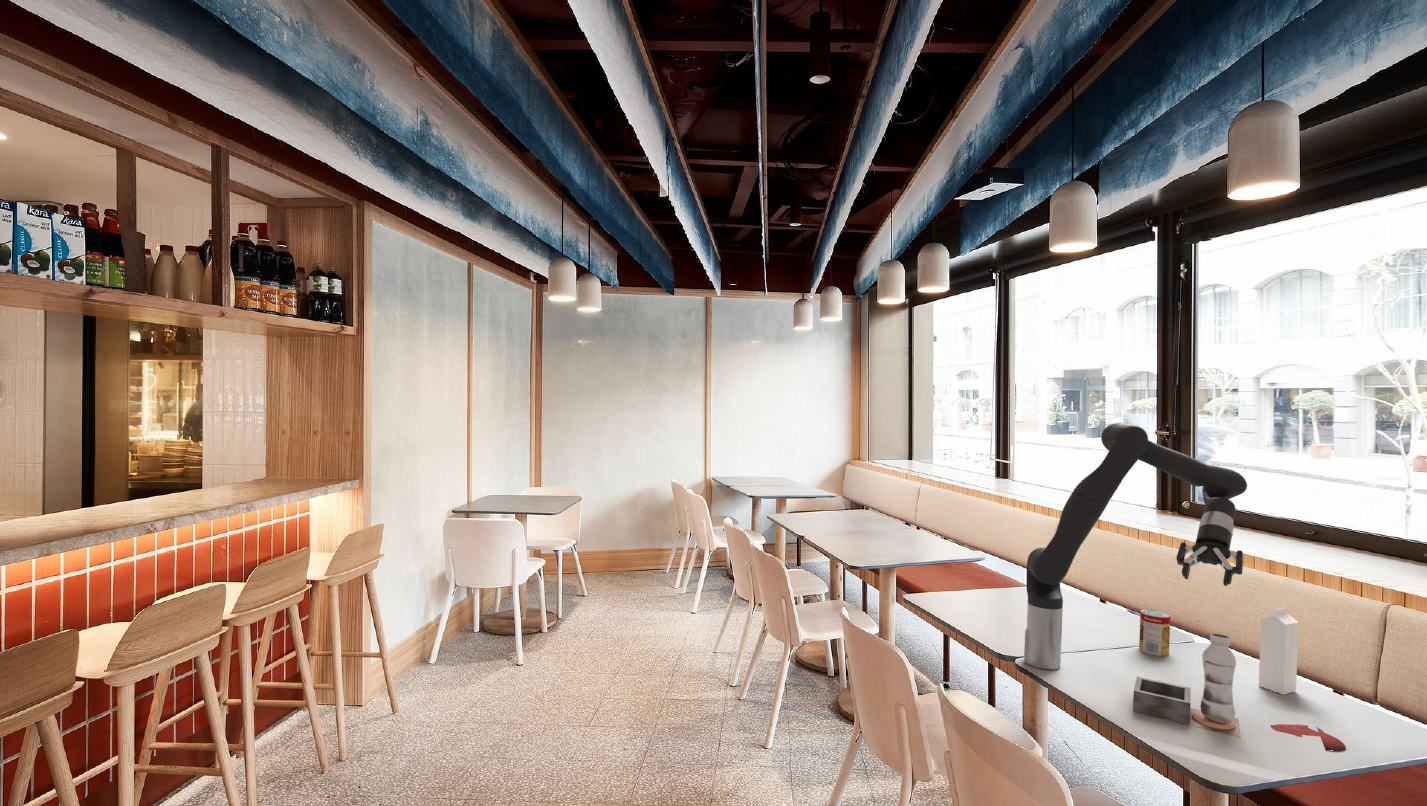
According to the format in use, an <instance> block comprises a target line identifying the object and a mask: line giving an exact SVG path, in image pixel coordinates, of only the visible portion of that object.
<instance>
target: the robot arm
mask: <svg viewBox="0 0 1427 806" xmlns="http://www.w3.org/2000/svg"><path fill="white" fill-rule="evenodd" d="M1100 438H1101V439H1100V440H1101V443H1102V445H1103V447H1104V448H1105V449H1106V450H1107V451H1108V452H1107V454H1106V456H1104V459H1103V460H1102V462H1101V463H1100V464H1099V465H1098V466H1097V467H1096V468H1095V469H1094V470H1093V471H1092V472H1091V473H1090V474H1088V475H1086V476H1085V477H1084V478H1083V479H1082V480H1080V482H1079V483H1078V484H1077V485H1076V486H1075V488H1074V489H1073V491H1072V492H1071V493H1070V495H1069V497H1068V499H1067V500H1066V501H1065V504H1064V507H1063V508H1062V511H1061V513H1060V514H1061V515H1060V517H1059V518H1060V519H1059V522H1058V525H1057V528H1056V531H1055V533H1054V535H1053V537H1052V538H1051V540H1050V541H1049V542H1048V544H1047V545H1046V547H1037V548H1034V549H1033V550H1032V551H1031V552H1030V553H1029V554H1028V557H1027V561H1026V580H1025V581H1026V585H1025V586H1026V594H1027V610H1026V612H1027V613H1026V614H1027V615H1026V628H1025V630H1024V650H1023V653H1024V654H1023V663H1024V664H1028V665H1030V666H1032V667H1035V668H1038V669H1042V670H1043V669H1044V670H1058V669H1060V668H1061V662H1062V658H1061V657H1062V639H1063V638H1062V635H1063V634H1062V633H1063V632H1062V631H1063V612H1064V609H1063V608H1064V607H1063V606H1064V605H1063V604H1064V599H1063V598H1064V597H1063V595H1062V591H1061V582H1062V581H1063V580H1064V579H1065V577H1066V576H1067V574H1068V572H1069V570H1070V568H1071V566H1072V564H1073V562H1074V559H1075V557H1076V555H1077V553H1078V551H1079V549H1080V548H1081V546H1082V545H1083V543H1084V542H1085V540H1086V538H1087V537H1088V535H1089V534H1090V532H1091V531H1092V529H1093V528H1094V526H1095V525H1096V523H1097V522H1098V520H1099V519H1100V517H1101V516H1102V514H1103V512H1104V511H1105V509H1106V508H1107V506H1108V504H1109V503H1110V501H1111V499H1112V497H1113V496H1114V494H1115V493H1116V491H1117V490H1118V488H1119V486H1120V485H1121V483H1122V482H1123V480H1124V479H1125V477H1126V475H1127V474H1128V473H1129V472H1130V471H1131V469H1132V468H1133V466H1135V464H1136V463H1137V462H1138V461H1141V462H1143V463H1146V464H1147V465H1149V466H1152V467H1154V468H1155V469H1158V470H1159V471H1162V472H1164V473H1166V474H1167V475H1170V476H1172V477H1174V478H1175V479H1178V480H1179V481H1182V482H1185V483H1186V484H1188V485H1190V486H1194V487H1202V488H1201V490H1202V492H1201V493H1202V497H1203V503H1204V508H1203V513H1202V517H1201V519H1200V521H1199V525H1198V530H1197V533H1196V534H1197V535H1196V538H1195V539H1196V540H1195V543H1194V544H1193V545H1188V544H1187V543H1186V542H1181V543H1180V545H1179V548H1178V551H1177V555H1176V558H1175V559H1176V563H1177V565H1178V566H1182V569H1181V575H1182V577H1183V578H1184V580H1189V577H1190V572H1191V568H1192V567H1193V566H1194V565H1195V566H1197V565H1199V564H1200V563H1202V564H1204V565H1205V564H1208V565H1209V564H1210V565H1213V566H1217V565H1219V566H1220V567H1221V568H1222V569H1223V570H1224V574H1223V575H1224V576H1223V581H1222V584H1223V586H1224V587H1228V585H1231V584H1232V581H1233V580H1232V579H1233V575H1243V568H1244V567H1243V566H1244V553H1243V550H1240V549H1239V550H1237V551H1231V550H1230V549H1231V543H1232V539H1233V538H1232V537H1233V535H1234V520H1235V517H1236V505H1235V504H1234V502H1233V501H1232V500H1231V499H1233V498H1235V497H1238V496H1239V495H1242V494H1244V493H1245V492H1246V491H1247V489H1248V482H1247V481H1246V478H1245V477H1244V476H1243V475H1242V474H1240V473H1239V472H1238V471H1235V470H1233V469H1230V468H1227V467H1226V468H1225V467H1222V466H1217V465H1212V464H1207V463H1204V462H1202V461H1200V460H1198V459H1196V458H1194V457H1192V456H1190V455H1187V454H1184V453H1182V452H1179V451H1177V450H1174V449H1171V448H1168V447H1165V446H1164V445H1163V446H1162V445H1160V444H1158V443H1156V442H1154V441H1152V440H1149V436H1148V433H1147V431H1146V430H1145V429H1144V428H1143V427H1141V426H1138V425H1135V424H1130V423H1125V422H1114V423H1110V424H1109V425H1107V426H1106V427H1105V428H1104V429H1103V430H1102V433H1101V437H1100ZM1191 551H1192V553H1190V552H1191ZM1189 553H1190V555H1189V556H1188V557H1187V558H1185V557H1186V554H1187V555H1188V554H1189ZM1231 557H1232V558H1233V560H1234V561H1235V566H1232V564H1230V563H1229V561H1228V559H1230V558H1231Z"/></svg>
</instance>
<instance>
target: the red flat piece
mask: <svg viewBox="0 0 1427 806" xmlns="http://www.w3.org/2000/svg"><path fill="white" fill-rule="evenodd" d="M1269 727H1270V728H1271V729H1272V730H1274V731H1275V732H1279V733H1285V734H1288V735H1292V736H1294V737H1299V738H1303V736H1309V737H1320V740H1321V741H1322V745H1323V748H1324V750H1325V751H1327V750H1333V751H1332V752H1343V751H1342V750H1344V751H1345V750H1346V749H1347V748H1346V745H1345V744H1344V742H1343V741H1342V740H1340V739H1339V738H1338V737H1335V736H1333V735H1331V734H1328V733H1326V732H1325V731H1324V730H1322V728H1319V727H1317V726H1316V729H1317V730H1315V729H1312V728H1311V727H1309V725H1306V724H1286V723H1285V724H1284V723H1283V724H1282V723H1278V724H1271V725H1270V726H1269Z"/></svg>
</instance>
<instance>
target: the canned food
mask: <svg viewBox="0 0 1427 806" xmlns="http://www.w3.org/2000/svg"><path fill="white" fill-rule="evenodd" d="M1139 615H1140V617H1139V642H1138V643H1139V644H1138V649H1139V651H1140V652H1142V653H1145V654H1148V655H1152V656H1156V657H1167V656H1169V655H1170V640H1171V639H1170V635H1171V634H1170V633H1171V614H1170V613H1167V612H1164V611H1162V610H1157V609H1156V610H1155V609H1149V608H1147V609H1140V613H1139Z"/></svg>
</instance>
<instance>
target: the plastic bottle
mask: <svg viewBox="0 0 1427 806" xmlns="http://www.w3.org/2000/svg"><path fill="white" fill-rule="evenodd" d="M1230 641H1231V637H1230V636H1229V635H1226V634H1221V633H1214V632H1213V633H1210V639H1209V643H1210V644H1209V645H1208V646H1207V647H1206V648H1205V649H1204V650H1203V651H1202V654H1201V659H1202V667H1203V678H1204V684H1203V691H1202V696H1201V699H1200V700H1201V701H1200V710H1201V712H1202V714H1203V716H1204V717H1205V718H1207V719H1209V720H1212V721H1215V722H1219V723H1231V722H1232V721H1233V720H1234V718H1235V716H1236V709H1235V704H1234V698H1233V697H1234V695H1233V683H1234V682H1233V681H1234V676H1235V671H1236V670H1235V669H1236V666H1237V660H1236V656H1235V655H1234V653H1233V652H1232V651H1231V650H1230V648H1229V647H1230V646H1231V643H1230Z"/></svg>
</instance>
